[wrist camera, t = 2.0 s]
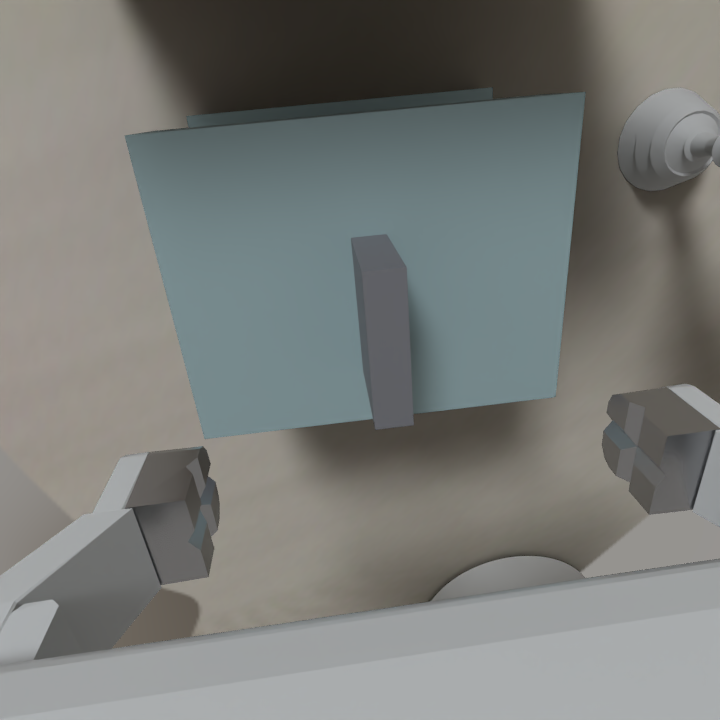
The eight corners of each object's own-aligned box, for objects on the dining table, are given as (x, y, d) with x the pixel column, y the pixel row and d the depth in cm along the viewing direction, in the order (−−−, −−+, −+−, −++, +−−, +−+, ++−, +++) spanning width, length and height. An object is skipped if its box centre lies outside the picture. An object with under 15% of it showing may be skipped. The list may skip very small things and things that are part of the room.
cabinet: (476, 303, 31) (606, 457, 17) (239, 330, 30) (182, 511, 17) (479, 88, 26) (669, 68, 12) (195, 115, 25) (62, 125, 12)
